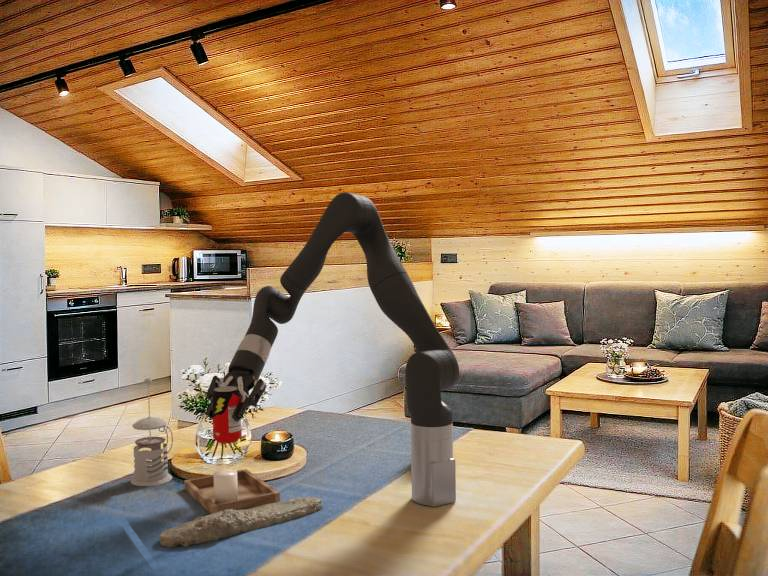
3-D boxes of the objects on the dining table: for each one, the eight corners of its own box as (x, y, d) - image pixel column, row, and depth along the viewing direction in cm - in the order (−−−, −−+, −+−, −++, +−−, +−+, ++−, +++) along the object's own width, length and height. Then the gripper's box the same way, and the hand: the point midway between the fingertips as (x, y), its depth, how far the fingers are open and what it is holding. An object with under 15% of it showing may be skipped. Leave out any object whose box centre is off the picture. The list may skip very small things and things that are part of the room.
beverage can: (233, 435, 171) (231, 384, 170) (246, 440, 166) (245, 388, 166) (208, 440, 167) (206, 388, 166) (221, 446, 162) (219, 392, 162)
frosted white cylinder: (241, 506, 157) (240, 474, 157) (219, 510, 155) (217, 478, 154) (233, 499, 162) (232, 468, 161) (211, 503, 159) (210, 472, 159)
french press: (121, 482, 177) (117, 380, 176) (157, 469, 188) (153, 372, 186) (151, 488, 173) (147, 383, 171) (186, 474, 183) (183, 374, 182)
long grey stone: (333, 522, 154) (309, 511, 162) (333, 497, 154) (309, 487, 162) (170, 558, 133) (151, 543, 142) (170, 529, 134) (151, 516, 142)
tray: (279, 506, 160) (279, 492, 160) (212, 520, 152) (212, 506, 152) (246, 481, 177) (246, 469, 177) (184, 493, 169) (184, 480, 169)
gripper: (218, 347, 175) (188, 406, 165) (270, 349, 169) (242, 411, 159) (232, 365, 180) (203, 424, 170) (282, 368, 175) (256, 430, 165)
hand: (222, 418), depth 165 cm, fingers closed on beverage can, 6 cm apart
